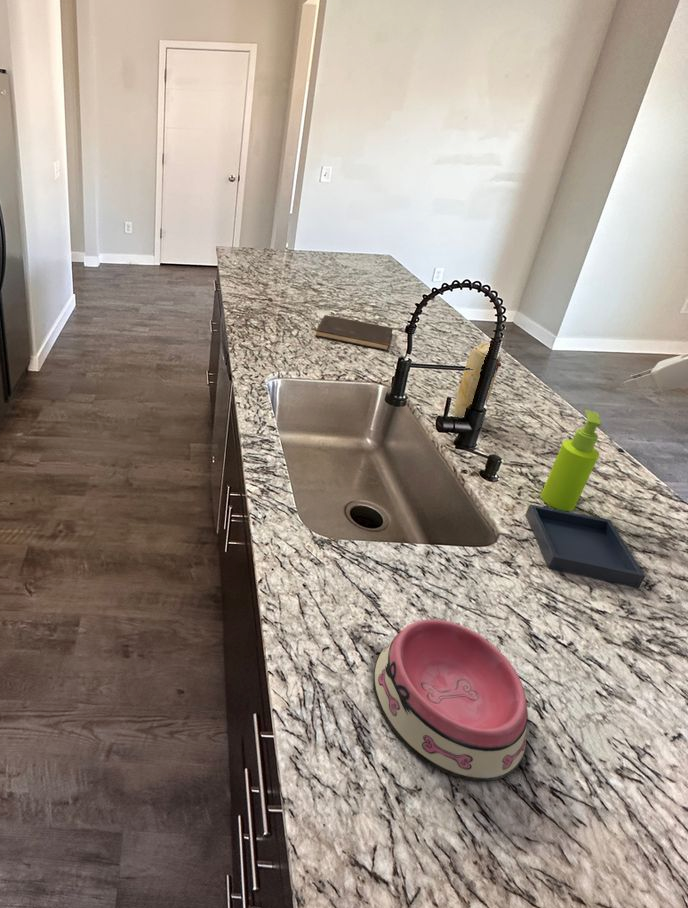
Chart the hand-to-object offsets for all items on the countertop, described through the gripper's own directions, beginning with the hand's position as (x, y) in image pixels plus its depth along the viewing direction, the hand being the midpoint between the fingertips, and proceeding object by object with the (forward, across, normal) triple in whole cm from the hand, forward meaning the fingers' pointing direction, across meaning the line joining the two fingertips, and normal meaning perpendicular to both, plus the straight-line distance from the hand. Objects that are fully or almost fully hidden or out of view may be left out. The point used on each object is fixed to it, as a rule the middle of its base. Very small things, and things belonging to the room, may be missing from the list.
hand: (627, 383), depth 101 cm
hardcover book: (+66, -40, -36) cm, 85 cm away
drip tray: (+16, +13, +25) cm, 32 cm away
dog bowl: (+27, +58, +29) cm, 70 cm away
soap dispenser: (+20, +1, +18) cm, 27 cm away
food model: (+35, -16, -1) cm, 39 cm away
